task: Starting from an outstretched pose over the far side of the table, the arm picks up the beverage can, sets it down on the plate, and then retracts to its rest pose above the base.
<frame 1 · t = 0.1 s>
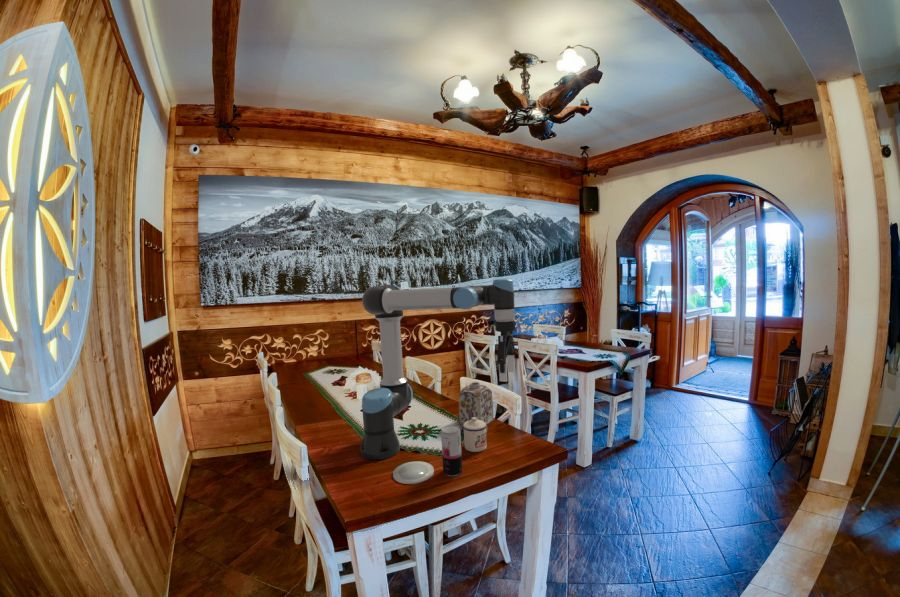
hand: (507, 376, 141), 28 cm above the table, fingers open, 13 cm apart
plate: (413, 472, 128), on the table
teacup with lid: (478, 446, 146), on the table
beverage can: (452, 472, 128), on the table
decorative jar: (476, 422, 170), on the table
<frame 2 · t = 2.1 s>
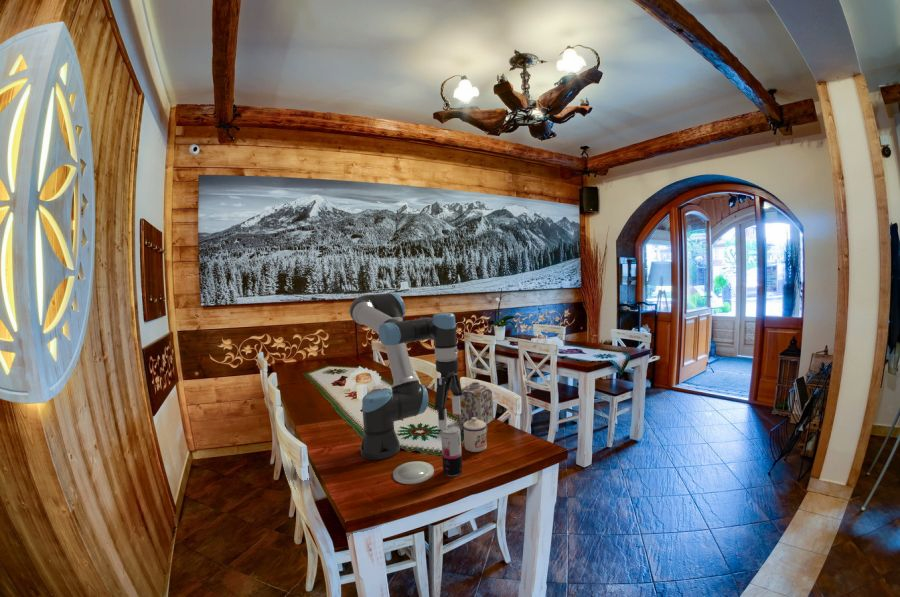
hand: (450, 421, 127), 18 cm above the table, fingers open, 13 cm apart
nothing on the table moved.
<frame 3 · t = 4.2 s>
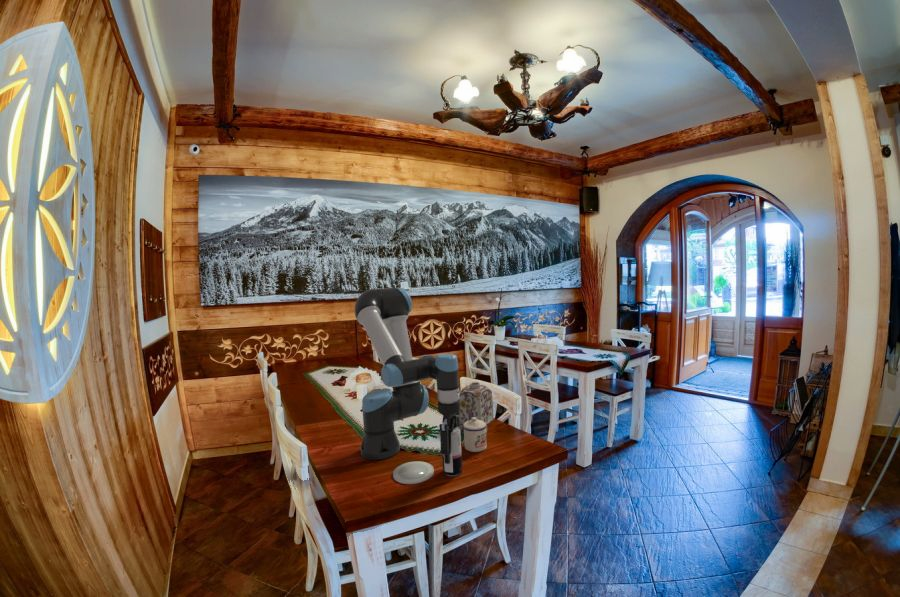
hand: (452, 466, 128), 2 cm above the table, fingers closed on beverage can, 6 cm apart
beverage can: (452, 472, 128), on the table, touching gripper
everything else where it was.
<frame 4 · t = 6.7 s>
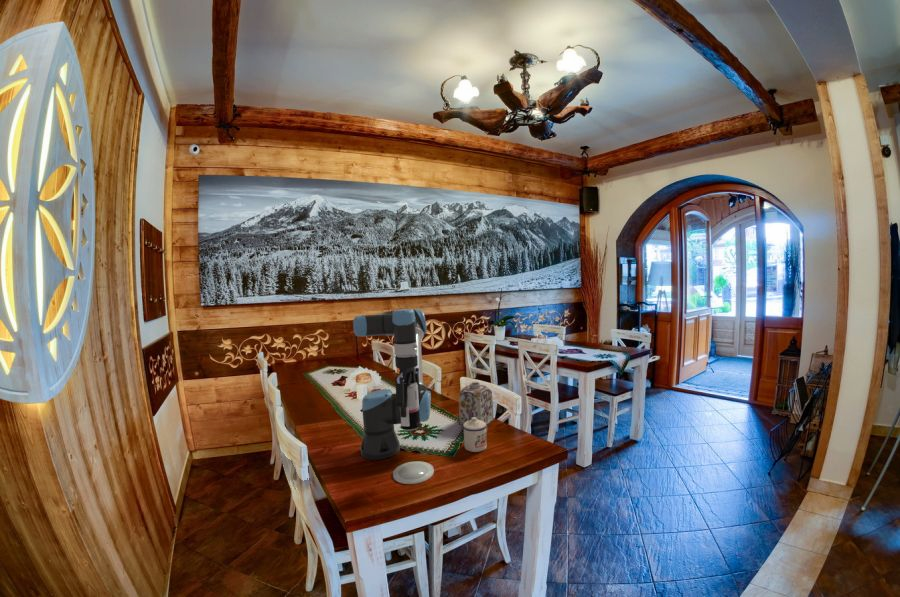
hand: (410, 421, 127), 18 cm above the table, fingers closed on beverage can, 6 cm apart
beverage can: (410, 427, 128), point 16 cm above the table, touching gripper
everything else where it was.
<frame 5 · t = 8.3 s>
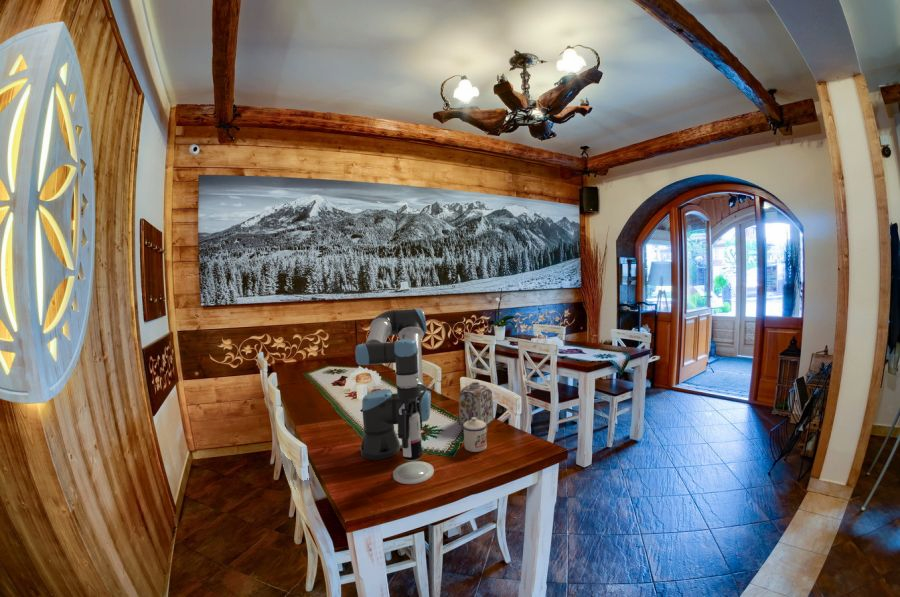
hand: (412, 451, 128), 8 cm above the table, fingers closed on beverage can, 6 cm apart
beverage can: (412, 457, 128), point 5 cm above the table, touching gripper
everything else where it was.
when the fingers open (4 cm above the table, at t = 9.5 s): beverage can drops 1 cm, resting on plate.
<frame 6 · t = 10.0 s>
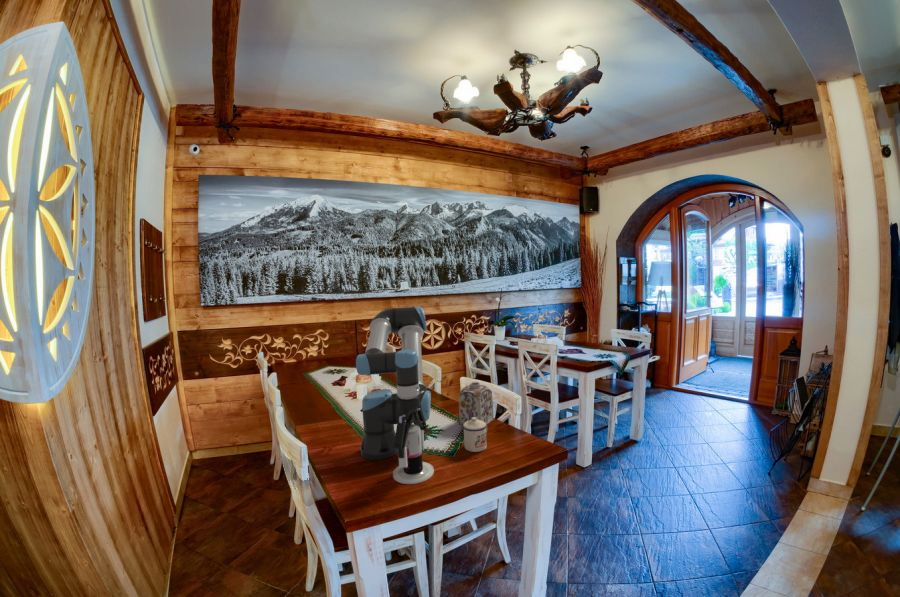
hand: (412, 456, 128), 6 cm above the table, fingers open, 13 cm apart
beverage can: (413, 471, 128), point 1 cm above the table, touching plate
everything else where it was.
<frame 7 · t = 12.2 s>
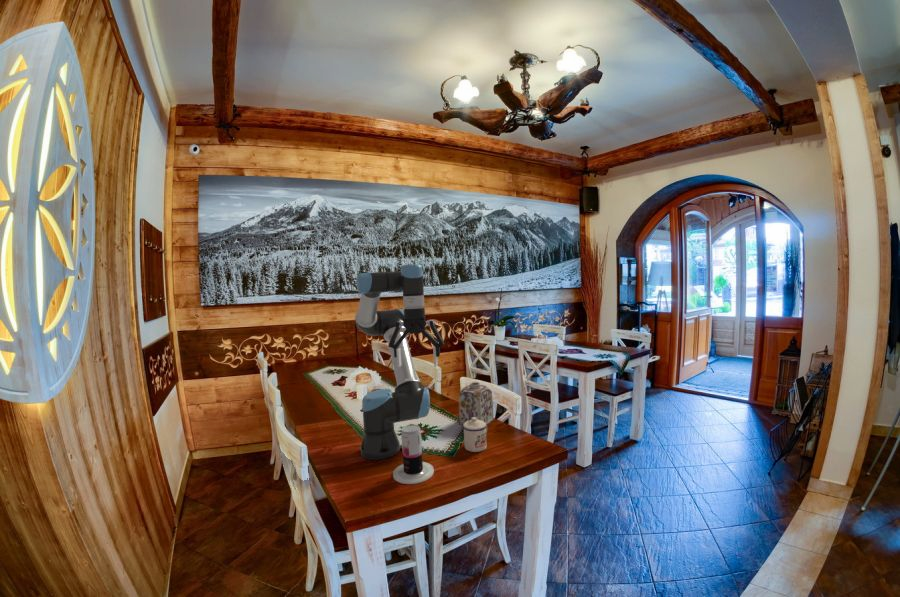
hand: (417, 366, 135), 35 cm above the table, fingers open, 13 cm apart
nothing on the table moved.
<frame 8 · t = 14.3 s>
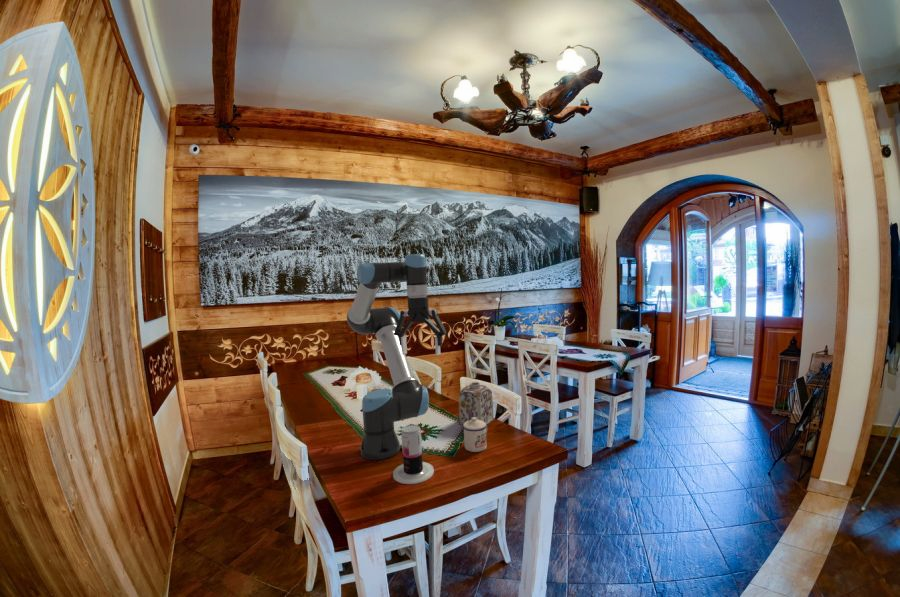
hand: (421, 354, 138), 39 cm above the table, fingers open, 13 cm apart
nothing on the table moved.
at the end: beverage can 0.1 cm from the plate (horizontally); beverage can tilted 0°; the gripper is holding nothing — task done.
